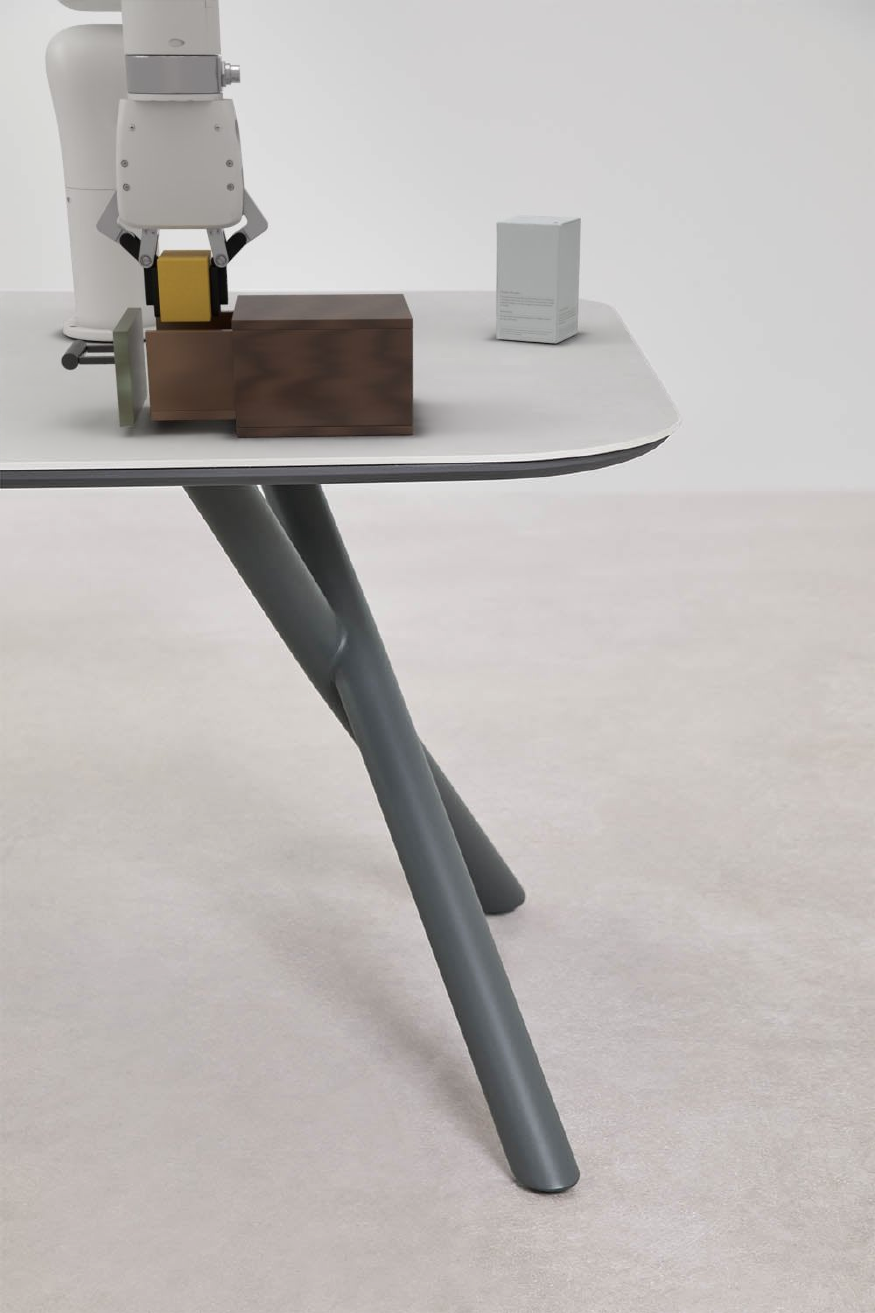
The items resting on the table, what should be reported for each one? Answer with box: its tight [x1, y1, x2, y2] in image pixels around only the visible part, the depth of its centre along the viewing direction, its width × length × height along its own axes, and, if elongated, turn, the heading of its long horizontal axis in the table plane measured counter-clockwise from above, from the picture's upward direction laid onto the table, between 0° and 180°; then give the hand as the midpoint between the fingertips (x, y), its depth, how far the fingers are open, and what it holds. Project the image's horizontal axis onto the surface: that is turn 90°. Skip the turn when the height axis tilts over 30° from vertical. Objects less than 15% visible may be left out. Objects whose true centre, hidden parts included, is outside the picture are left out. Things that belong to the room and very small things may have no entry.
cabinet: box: [231, 293, 414, 438], centre depth 128 cm, size 15×13×10 cm
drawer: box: [60, 308, 236, 428], centre depth 127 cm, size 18×11×8 cm, turn 95°
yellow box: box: [157, 249, 212, 322], centre depth 125 cm, size 6×4×5 cm, turn 5°
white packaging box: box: [495, 214, 582, 344], centre depth 164 cm, size 7×7×13 cm
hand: (188, 311), depth 125 cm, fingers closed on yellow box, 4 cm apart
